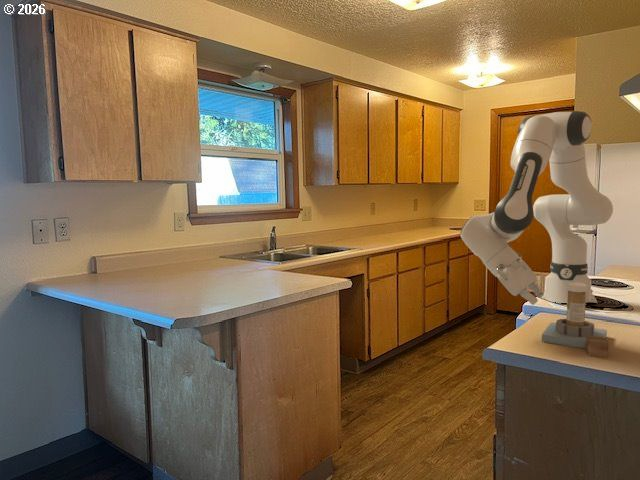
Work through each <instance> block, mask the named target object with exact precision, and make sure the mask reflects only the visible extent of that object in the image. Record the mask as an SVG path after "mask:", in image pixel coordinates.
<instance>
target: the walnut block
mask: <svg viewBox="0 0 640 480" xmlns="http://www.w3.org/2000/svg"><path fill="white" fill-rule="evenodd" d="M609 344H610V343H609V340H607V338H606V339H605V338H604V337H599V336H586V343H585V348H584V351H585V352H586V354H587V355H588V356H589V357H598V358H609Z"/></svg>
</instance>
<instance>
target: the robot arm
mask: <svg viewBox="0 0 640 480" xmlns="http://www.w3.org/2000/svg"><path fill="white" fill-rule="evenodd" d="M592 127H593V125H592V119H591V116H590V115H589V114H588V113H587V112H586V111H579V110H573V111H556V112H555V111H554V112H550V113H544V114H543V113H542V114H539V115H531V116H528V117H525V118H523V119H522V121H521V122H520V123H519V125H518V128H517V138H516V139H515V143H514V145H513V149H512V152H511V155H510V165H509V166H510V168H511V169H512V170H513V171H514V176H513V179H512V180H511V184H510V187H509V190H508V192H507V194H506V195H504V197H503V198H502V199H501V200H500V201H499V202H498V203H497V205H496V207H495V210H494V211H493V212H491V213H487V214H482V215H472V216H470V217H469V218H468V220H466V222H465V223H464V224H463V226H462V227H461V229H460V233H459V235H460V238H461V240H462V241H463V243H464V244H465V246H466V247H467V248H468V249H469V250H470V251H471V252H472V253H473V254H474V255H475V256H476V257H478V258H479V259H480V260H481V262H482V264H483V265H484V266H485V267H486V268H487V269H488V270H489V271H490V273H491V274H492V275H493V276H494V277H496V278H497V279H498V280H499V281H500V283H501V284H502V285H503V286H504V288H505V289H506V290H507V291H508V292H509V293H510V294H511V295H512V296H514V297H517V296H518V295H520V296H521V297H522V298H523V299H525V300H526V301H528V302H529V303H530V304H531V305H532V306H534V305H535V304H537V303H538V301H539V299H542V300H546V301H549V302H551V303H555V302H556V303H555V304H561V303H567V301H568V290H567V285H568V283H583V284H586V285H587V291H586V295H585V302H597V303H598V301H597V298H596V297H595V295H594V294H593V292H594V291H593V290H592V279H591V278H590V277H589V276H588V269H589V266H588V263H587V257H588V255H587V254H588V252H587V251H588V243H587V242H586V240H585V239H584V238H583V237H582V236H579V235H578V234H575V233H574V232H573V230H572V229H571V225H572V226H596V225H603V224H606V223H607V222H608V221H609V220H610V219H611V218H612V215H613V213H614V205H613V202H612V201H611V199H610V198H608V196H606V195H604V194H603V193H601V192H600V191H599V190H597V189H596V188H595V187H594V185H593V184H592V182H591V181H590V179H589V176H588V170H587V169H588V168H587V162H586V149H585V145H584V144H585V142H586V141H588V139H589V138H590V136H591V133H592ZM548 163H549V171H550V180H551V182H552V183H553V184H554V185H555V186H556V187H558V188H561V189H563V190H564V191H565V192H567V194H563V193H562V194H561V193H560V194H555V193H554V194H548V195H541V196H539V197H537V198H536V200H535V201H534V203H533V194H534V191H535V188H536V185H537V182H538V179H539V176H540V175H541V174H542V173H543V172H544V171H545V169H546V167H547V165H548ZM534 218H535V220H537V222H539V223H540V224H541V225H542V226H543V227H544V228H545V230H546V231H547V233H548V234H549V237H550V241H551V255H552V256H551V262H550V265H549V266H550V268H549V269H550V273H549V274H548V275H546V276H545V279H544V280H545V284H544V291H542V290H541V288H540V286H539V285H538V283H537V282H536V280H538V277H537V274H536V273H535V272H534V271H533V270H532V269H531V267H530V266H529V265H528V264H527V263H526V262H525V260H523V259H522V258H523V257H522V255H521V254H520V253H519V252H517V251H515V250H514V249H513V248H511V246H510V245H509V243H511V242H513V241H515V240H516V239H518V238H519V237H520V236H521V234H523V232H524V231H525V230H526V229H527V228H529V226H530V225H531V223H532V222H533V220H534ZM527 287H528V288H527ZM528 289H530V290H531V292H533V294H534V295H533V294H532V293H531V292H530V291H529V290H528Z"/></svg>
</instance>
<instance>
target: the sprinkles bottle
mask: <svg viewBox="0 0 640 480" xmlns="http://www.w3.org/2000/svg"><path fill="white" fill-rule="evenodd" d="M567 290H568V301H567V304H566V317H565V319H567V324H566V325H570V326H578V327H582V326H584V321H586V304H585V295H586V291H587V285H586V284H583V283H568V285H567Z"/></svg>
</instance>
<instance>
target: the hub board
mask: <svg viewBox="0 0 640 480" xmlns="http://www.w3.org/2000/svg"><path fill="white" fill-rule="evenodd" d="M566 324H567V319H566V318H559V319H557V320H556V321H555V322H552V321H551V322H550V323H549V324H548V326H547V327H546V328H545V329H544V330H543V332H542V334H541V342H543V343H549V344H555V345H561V346H568V347H573V348H581V349H585V343H586V336H599V337H604V338H605V339H606V340H607V333H608V332H607V331H608V330H607V329H604V328H598V327H597V328H596V327H595V323H593V322H591V321H587V320H585V321H584V326H582V327H578V326H570V325H566Z"/></svg>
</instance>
